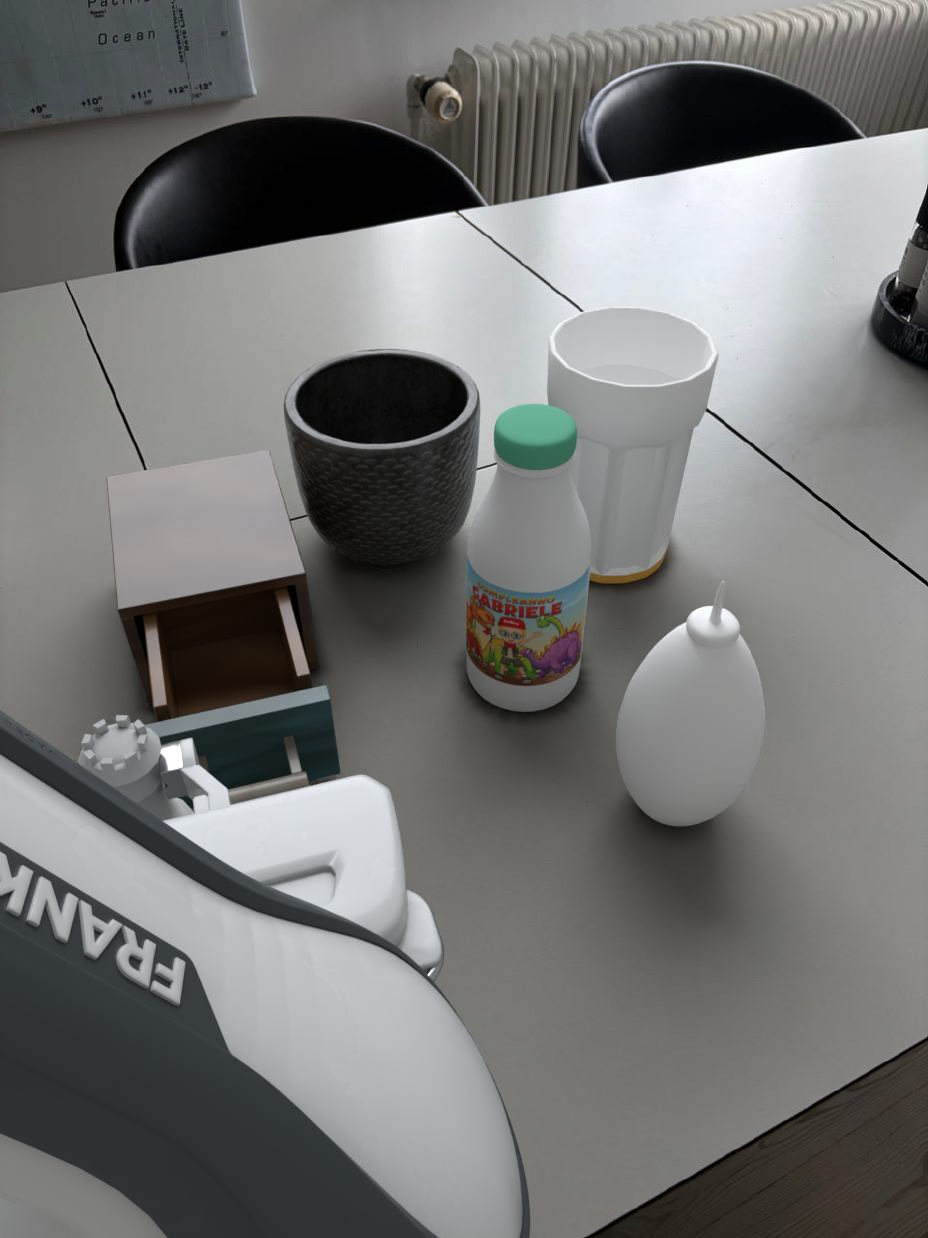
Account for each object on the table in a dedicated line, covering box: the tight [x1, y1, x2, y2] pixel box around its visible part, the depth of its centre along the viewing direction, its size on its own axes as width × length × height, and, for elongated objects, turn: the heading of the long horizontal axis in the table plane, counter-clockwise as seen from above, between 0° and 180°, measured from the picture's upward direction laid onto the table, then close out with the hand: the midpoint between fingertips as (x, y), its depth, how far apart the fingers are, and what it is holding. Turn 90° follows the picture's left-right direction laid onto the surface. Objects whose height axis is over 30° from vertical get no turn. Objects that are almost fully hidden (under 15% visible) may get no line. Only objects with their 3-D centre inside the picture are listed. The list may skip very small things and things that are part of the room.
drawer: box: [143, 586, 342, 810], centre depth 61 cm, size 18×10×7 cm, turn 17°
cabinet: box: [105, 449, 320, 705], centre depth 70 cm, size 15×12×9 cm
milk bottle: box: [465, 403, 591, 713], centre depth 62 cm, size 8×8×20 cm
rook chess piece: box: [77, 714, 194, 821], centre depth 43 cm, size 4×4×8 cm
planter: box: [283, 348, 481, 571], centre depth 75 cm, size 14×14×13 cm
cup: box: [546, 306, 720, 584], centre depth 73 cm, size 11×11×17 cm
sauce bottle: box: [615, 580, 766, 827], centre depth 55 cm, size 8×8×18 cm
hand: (126, 761), depth 42 cm, fingers closed on rook chess piece, 3 cm apart
